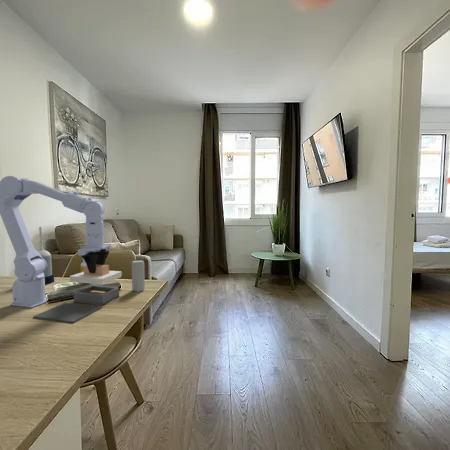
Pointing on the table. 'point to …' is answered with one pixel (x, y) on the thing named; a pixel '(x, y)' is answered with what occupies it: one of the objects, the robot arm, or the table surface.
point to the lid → (96, 275)
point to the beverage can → (138, 276)
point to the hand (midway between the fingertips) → (96, 271)
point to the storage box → (96, 294)
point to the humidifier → (47, 257)
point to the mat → (67, 312)
